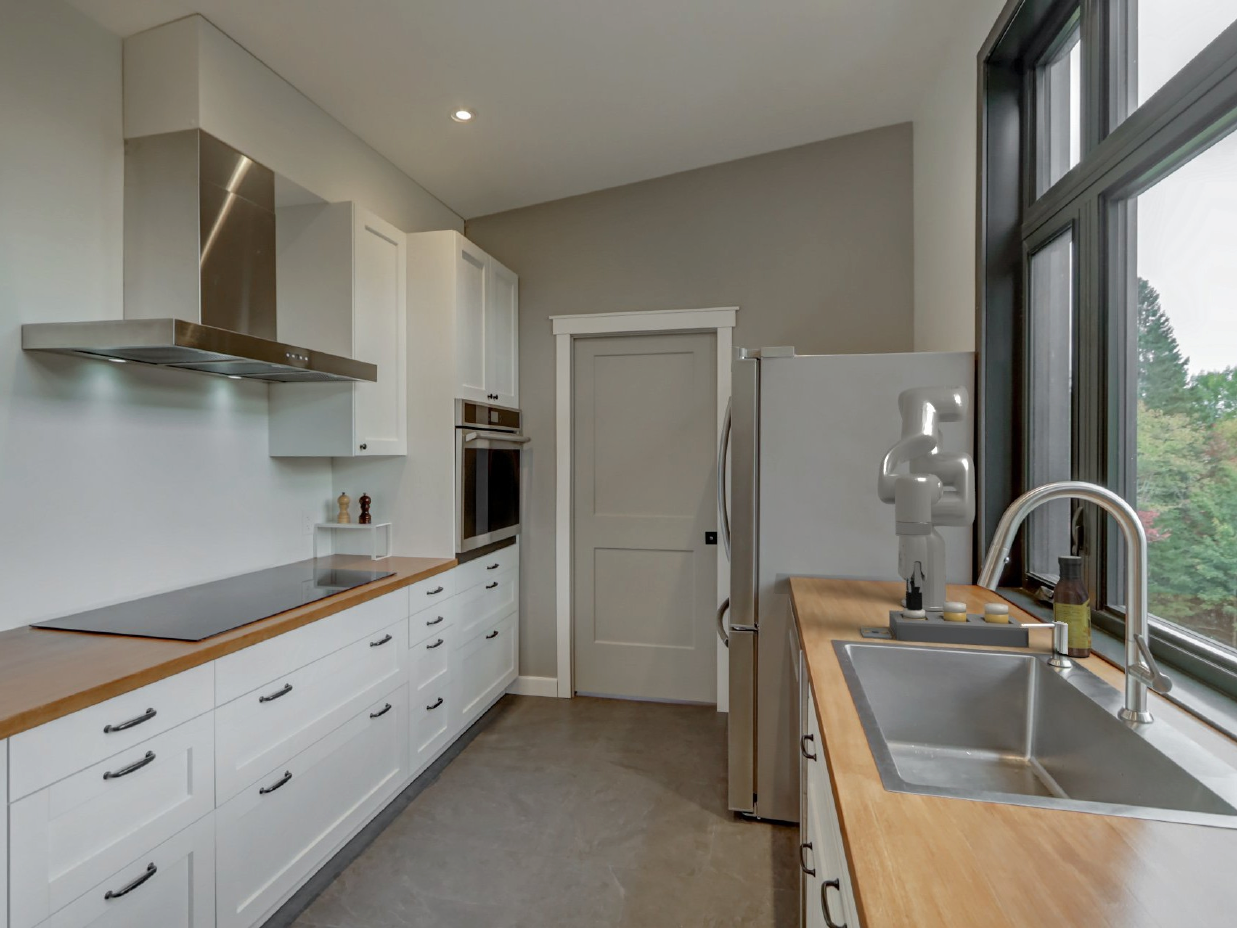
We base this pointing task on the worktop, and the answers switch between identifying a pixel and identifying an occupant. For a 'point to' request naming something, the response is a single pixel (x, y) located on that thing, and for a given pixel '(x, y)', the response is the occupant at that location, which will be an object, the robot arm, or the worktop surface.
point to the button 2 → (996, 613)
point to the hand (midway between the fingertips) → (914, 608)
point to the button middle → (954, 611)
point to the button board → (958, 630)
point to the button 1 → (913, 614)
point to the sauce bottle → (1073, 605)
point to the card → (875, 633)
